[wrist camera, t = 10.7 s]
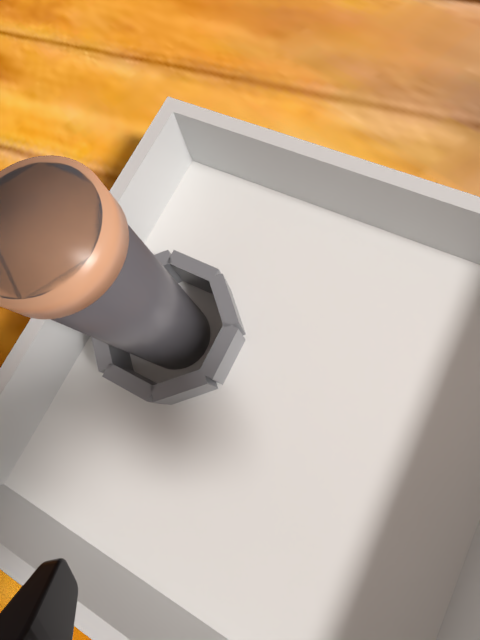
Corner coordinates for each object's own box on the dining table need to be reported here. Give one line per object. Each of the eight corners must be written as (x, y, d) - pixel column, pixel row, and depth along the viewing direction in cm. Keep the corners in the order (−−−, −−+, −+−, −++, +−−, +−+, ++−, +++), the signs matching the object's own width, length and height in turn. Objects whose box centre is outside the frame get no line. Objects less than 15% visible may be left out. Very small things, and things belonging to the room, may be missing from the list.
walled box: (400, 771, 17) (440, 906, 12) (-4, 488, 23) (-84, 504, 18) (572, 292, 21) (653, 252, 16) (191, 155, 27) (167, 96, 22)
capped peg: (203, 380, 22) (78, 321, 10) (131, 364, 23) (-70, 291, 10) (221, 306, 23) (130, 164, 10) (152, 293, 24) (-9, 148, 11)
